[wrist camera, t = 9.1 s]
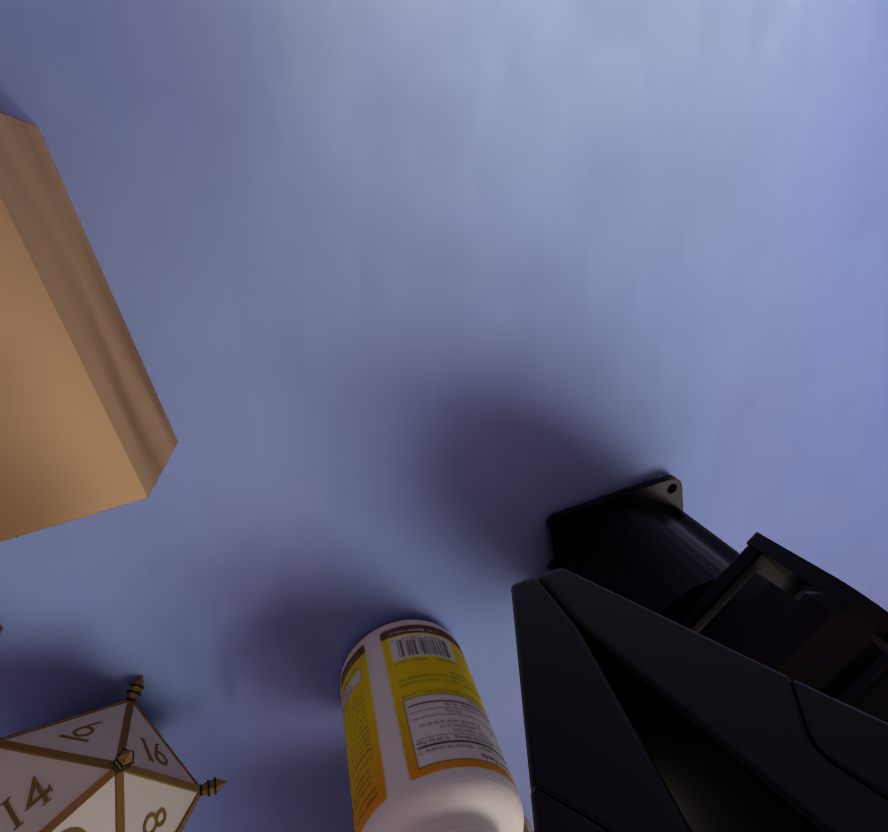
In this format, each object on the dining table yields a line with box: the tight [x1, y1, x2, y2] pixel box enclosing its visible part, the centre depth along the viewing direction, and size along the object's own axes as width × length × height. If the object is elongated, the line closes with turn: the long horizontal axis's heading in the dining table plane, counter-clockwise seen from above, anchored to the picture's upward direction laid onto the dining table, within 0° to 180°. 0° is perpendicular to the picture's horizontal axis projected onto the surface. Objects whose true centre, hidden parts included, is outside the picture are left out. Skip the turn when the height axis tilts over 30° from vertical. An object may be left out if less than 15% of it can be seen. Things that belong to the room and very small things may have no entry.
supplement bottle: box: [340, 620, 524, 832], centre depth 20 cm, size 6×6×10 cm
